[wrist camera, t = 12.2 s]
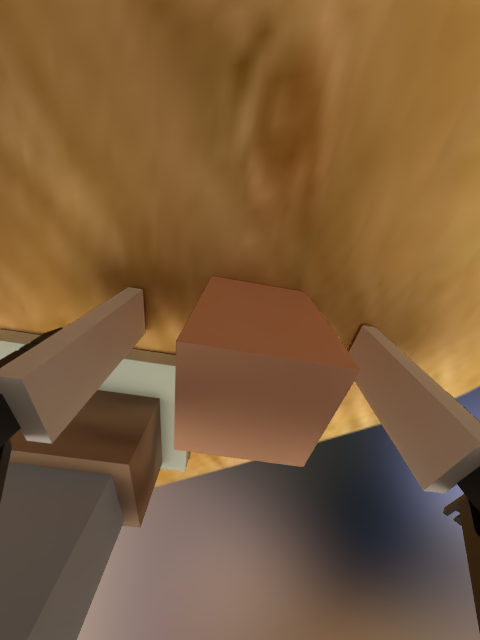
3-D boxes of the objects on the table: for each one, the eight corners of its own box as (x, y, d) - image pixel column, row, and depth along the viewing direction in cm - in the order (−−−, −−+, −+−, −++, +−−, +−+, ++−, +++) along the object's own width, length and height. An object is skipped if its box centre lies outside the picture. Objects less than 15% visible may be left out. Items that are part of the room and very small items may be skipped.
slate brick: (-10, 459, 10) (-285, 726, 5) (111, 474, 11) (-26, 741, 5) (29, 510, 13) (-120, 714, 8) (123, 521, 13) (43, 724, 8)
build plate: (1, 329, 12) (-18, 338, 12) (195, 358, 13) (192, 368, 12) (54, 442, 18) (44, 454, 17) (188, 459, 19) (185, 471, 18)
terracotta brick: (212, 275, 11) (176, 341, 5) (305, 291, 11) (360, 369, 6) (204, 351, 13) (173, 450, 8) (281, 363, 13) (303, 466, 8)
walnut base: (34, 381, 13) (-43, 443, 10) (159, 398, 14) (128, 464, 10) (65, 450, 17) (17, 514, 13) (162, 462, 17) (140, 527, 14)
